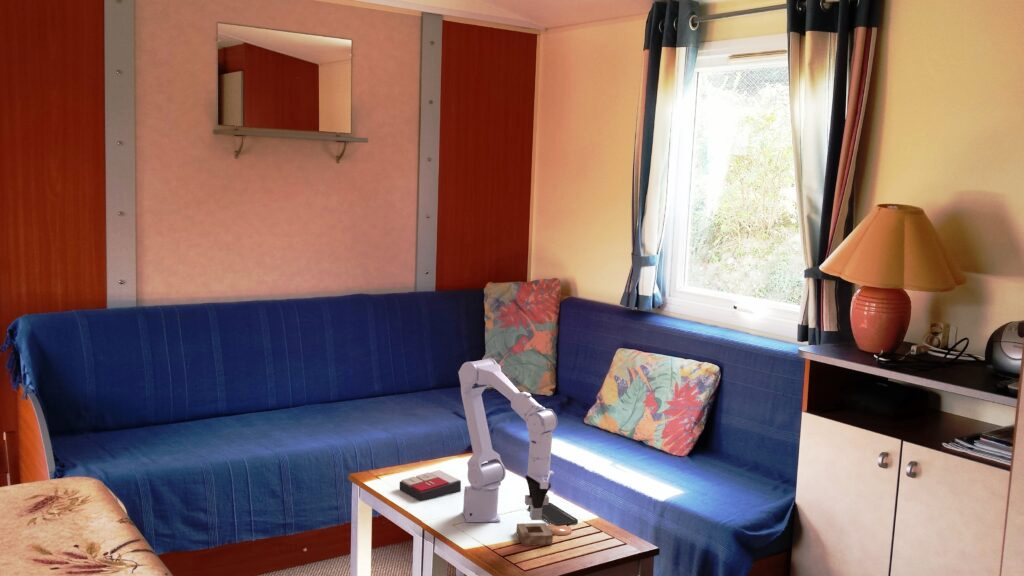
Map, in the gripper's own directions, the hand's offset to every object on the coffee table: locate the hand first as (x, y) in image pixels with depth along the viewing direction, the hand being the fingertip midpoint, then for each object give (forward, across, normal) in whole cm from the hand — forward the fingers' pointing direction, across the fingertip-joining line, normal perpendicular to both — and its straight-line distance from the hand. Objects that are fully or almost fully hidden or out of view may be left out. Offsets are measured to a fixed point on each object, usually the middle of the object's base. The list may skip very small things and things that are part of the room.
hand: (536, 505), depth 235 cm
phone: (+10, +15, -9) cm, 20 cm away
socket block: (+9, 0, 0) cm, 9 cm away
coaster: (+9, +5, -8) cm, 13 cm away
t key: (+3, 0, 0) cm, 4 cm away
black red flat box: (+10, +35, +24) cm, 44 cm away
